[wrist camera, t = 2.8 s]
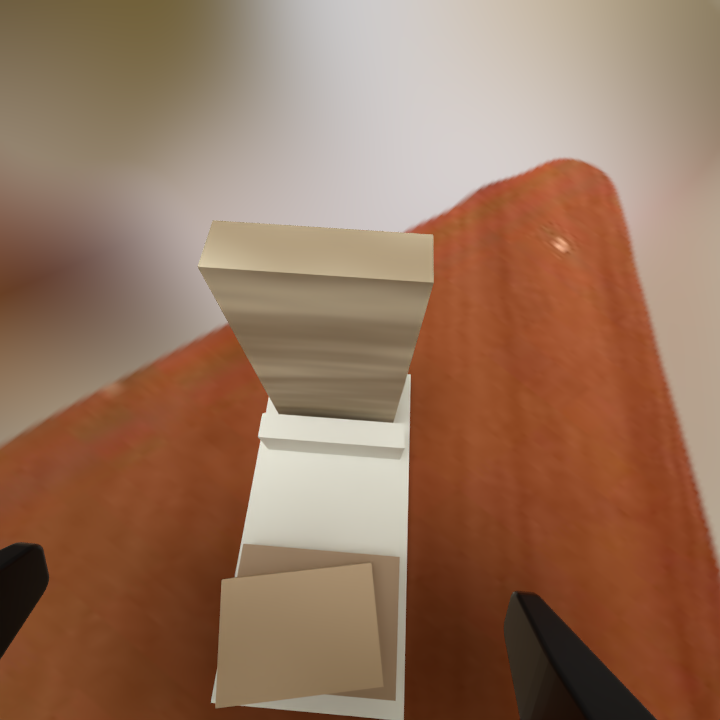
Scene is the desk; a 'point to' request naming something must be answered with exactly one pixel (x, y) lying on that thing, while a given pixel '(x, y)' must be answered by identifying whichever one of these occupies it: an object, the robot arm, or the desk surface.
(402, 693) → the offcut rack
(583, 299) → the desk surface
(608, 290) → the desk surface
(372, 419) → the grey brown wooden board
